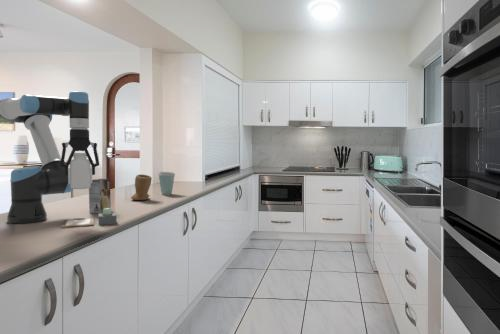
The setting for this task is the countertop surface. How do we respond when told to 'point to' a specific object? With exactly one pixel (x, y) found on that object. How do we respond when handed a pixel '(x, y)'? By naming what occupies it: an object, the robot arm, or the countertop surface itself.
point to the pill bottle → (80, 172)
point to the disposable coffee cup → (166, 182)
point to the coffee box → (99, 195)
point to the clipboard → (78, 222)
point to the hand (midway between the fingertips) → (80, 182)
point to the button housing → (107, 219)
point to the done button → (106, 211)
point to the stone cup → (142, 187)
